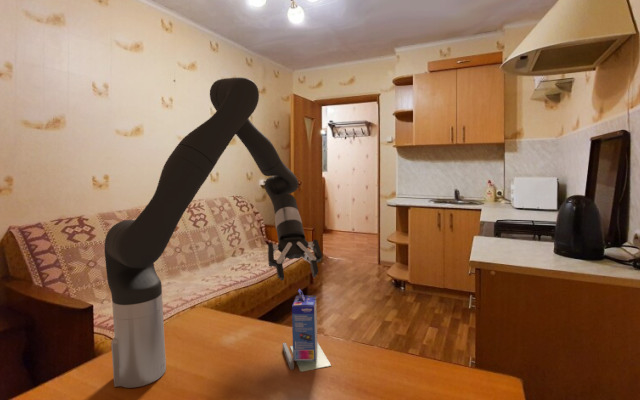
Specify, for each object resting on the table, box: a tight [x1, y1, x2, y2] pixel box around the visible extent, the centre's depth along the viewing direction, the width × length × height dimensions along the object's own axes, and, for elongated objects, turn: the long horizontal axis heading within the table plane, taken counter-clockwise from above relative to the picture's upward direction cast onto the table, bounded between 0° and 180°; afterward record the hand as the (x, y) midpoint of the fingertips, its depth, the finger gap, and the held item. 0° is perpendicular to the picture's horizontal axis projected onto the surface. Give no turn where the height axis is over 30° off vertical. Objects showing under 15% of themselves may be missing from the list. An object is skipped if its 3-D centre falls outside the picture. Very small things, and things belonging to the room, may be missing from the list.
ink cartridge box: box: [291, 288, 319, 362], centre depth 79 cm, size 10×6×14 cm, turn 179°
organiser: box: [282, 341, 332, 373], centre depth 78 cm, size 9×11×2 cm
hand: (299, 277), depth 86 cm, fingers open, 8 cm apart
